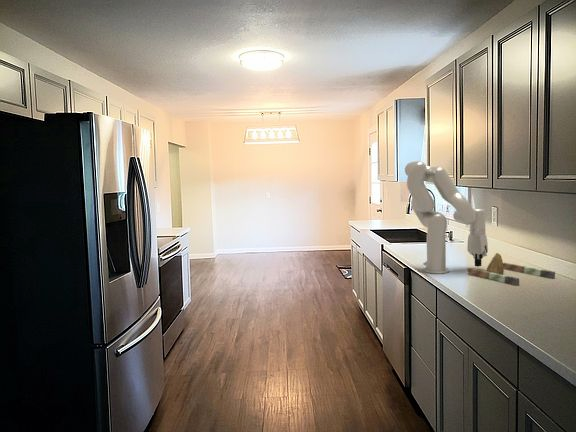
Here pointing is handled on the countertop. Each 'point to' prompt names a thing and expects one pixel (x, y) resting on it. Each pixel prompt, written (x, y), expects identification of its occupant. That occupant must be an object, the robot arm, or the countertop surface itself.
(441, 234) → the robot arm
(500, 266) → the rock
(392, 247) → the countertop surface
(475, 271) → the channel
